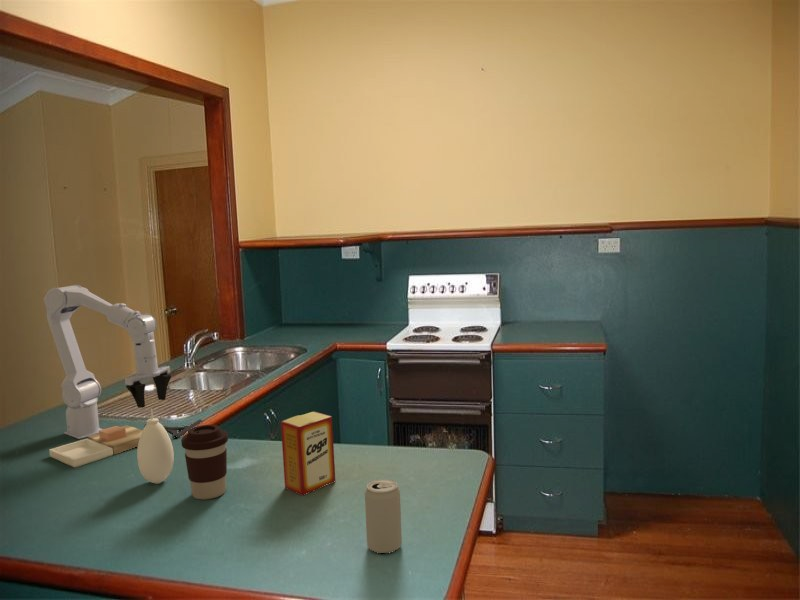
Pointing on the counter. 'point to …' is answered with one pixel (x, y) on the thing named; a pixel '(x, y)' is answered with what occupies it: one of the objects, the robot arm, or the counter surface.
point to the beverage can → (383, 516)
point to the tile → (112, 433)
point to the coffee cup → (206, 460)
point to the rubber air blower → (155, 452)
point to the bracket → (184, 429)
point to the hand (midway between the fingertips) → (151, 403)
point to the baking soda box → (308, 452)
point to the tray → (81, 452)
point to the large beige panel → (121, 440)
